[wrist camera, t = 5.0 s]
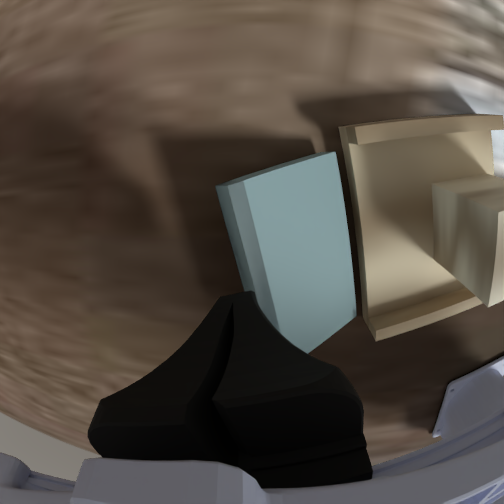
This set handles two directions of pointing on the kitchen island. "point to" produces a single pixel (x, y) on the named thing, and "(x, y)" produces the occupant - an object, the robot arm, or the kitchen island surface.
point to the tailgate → (294, 246)
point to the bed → (409, 212)
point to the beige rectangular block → (471, 233)
